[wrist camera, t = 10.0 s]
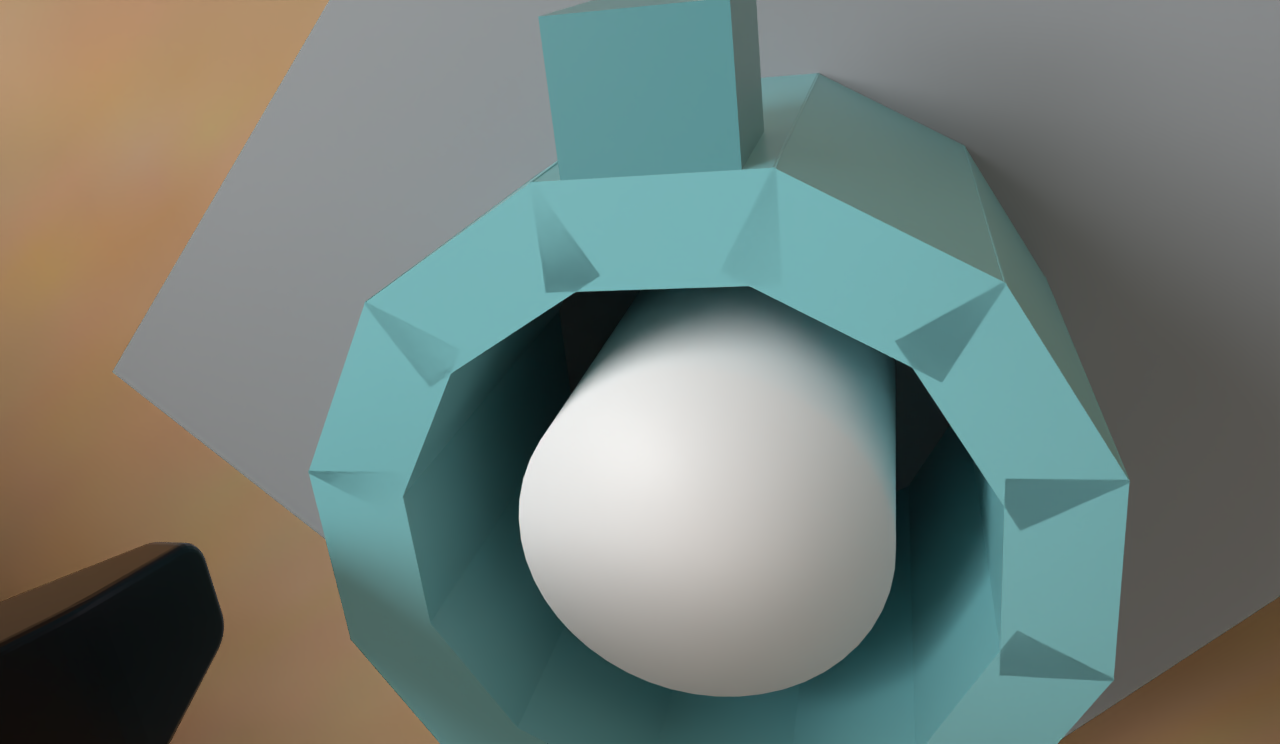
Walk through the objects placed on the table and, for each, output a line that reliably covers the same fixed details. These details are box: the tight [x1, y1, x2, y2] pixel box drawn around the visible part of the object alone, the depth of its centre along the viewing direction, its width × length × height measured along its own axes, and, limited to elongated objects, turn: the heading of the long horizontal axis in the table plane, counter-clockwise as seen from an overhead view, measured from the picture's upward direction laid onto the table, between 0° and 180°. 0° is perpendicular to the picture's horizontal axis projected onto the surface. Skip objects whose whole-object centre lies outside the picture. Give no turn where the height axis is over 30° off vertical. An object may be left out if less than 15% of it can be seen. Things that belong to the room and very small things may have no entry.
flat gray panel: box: [113, 0, 1280, 739], centre depth 12 cm, size 14×14×6 cm
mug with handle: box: [308, 0, 1130, 744], centre depth 11 cm, size 8×7×5 cm
